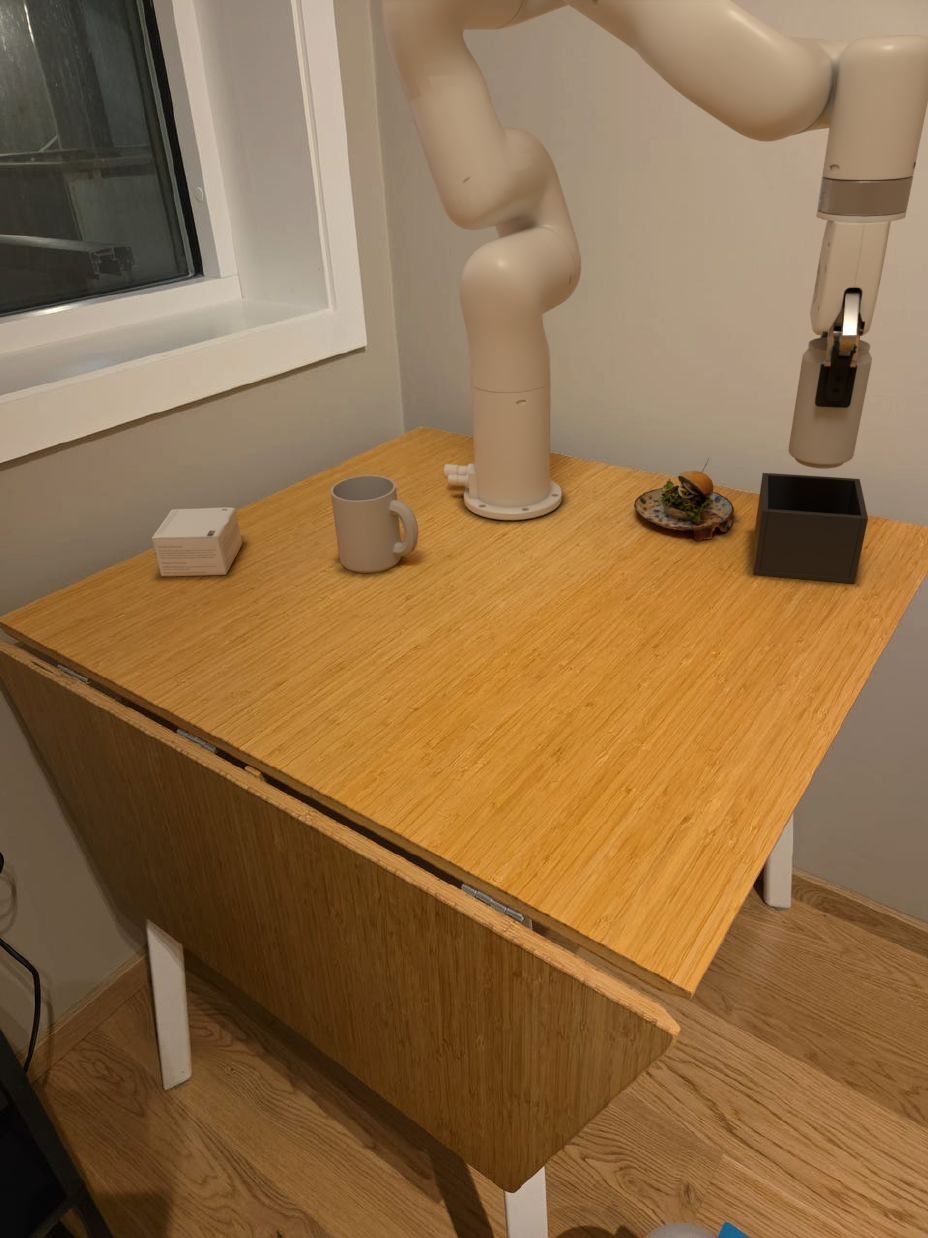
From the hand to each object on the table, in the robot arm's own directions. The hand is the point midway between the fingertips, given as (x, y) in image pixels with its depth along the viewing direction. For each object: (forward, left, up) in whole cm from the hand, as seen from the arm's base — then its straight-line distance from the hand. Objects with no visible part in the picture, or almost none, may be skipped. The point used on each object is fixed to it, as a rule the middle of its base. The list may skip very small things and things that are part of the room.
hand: (830, 392), depth 90 cm
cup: (-46, -10, -19) cm, 51 cm away
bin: (0, 0, -19) cm, 19 cm away
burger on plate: (-13, +7, -19) cm, 24 cm away
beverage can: (0, 0, -7) cm, 7 cm away
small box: (-67, -14, -19) cm, 71 cm away
